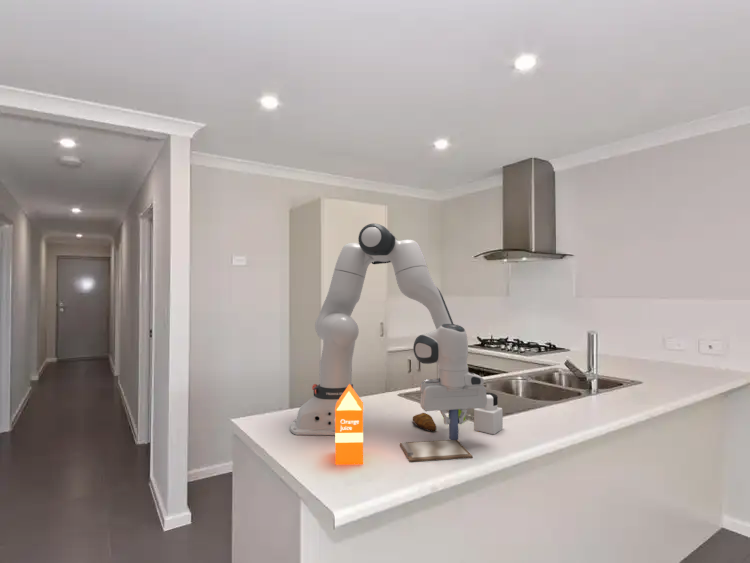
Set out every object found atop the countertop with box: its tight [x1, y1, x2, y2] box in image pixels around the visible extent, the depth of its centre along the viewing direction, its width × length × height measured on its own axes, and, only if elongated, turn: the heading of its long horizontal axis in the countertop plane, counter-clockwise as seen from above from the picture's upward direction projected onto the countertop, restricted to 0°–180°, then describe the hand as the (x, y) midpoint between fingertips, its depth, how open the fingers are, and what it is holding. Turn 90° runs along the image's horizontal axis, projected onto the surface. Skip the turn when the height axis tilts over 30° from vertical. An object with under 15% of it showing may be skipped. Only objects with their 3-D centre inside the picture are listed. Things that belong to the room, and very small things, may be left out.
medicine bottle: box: [473, 392, 504, 436], centre depth 145 cm, size 7×7×12 cm
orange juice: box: [334, 384, 364, 466], centre depth 122 cm, size 8×9×20 cm
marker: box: [448, 409, 459, 441], centre depth 132 cm, size 3×3×12 cm
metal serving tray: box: [399, 439, 474, 463], centre depth 127 cm, size 18×13×2 cm
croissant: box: [412, 412, 437, 432], centre depth 149 cm, size 14×7×5 cm, turn 25°
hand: (453, 423), depth 132 cm, fingers closed on marker, 3 cm apart
